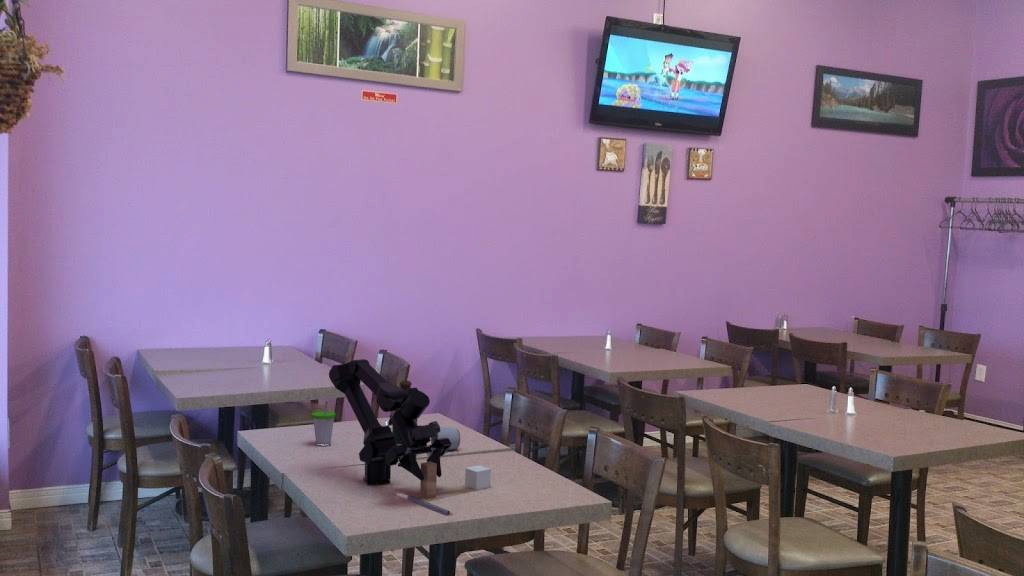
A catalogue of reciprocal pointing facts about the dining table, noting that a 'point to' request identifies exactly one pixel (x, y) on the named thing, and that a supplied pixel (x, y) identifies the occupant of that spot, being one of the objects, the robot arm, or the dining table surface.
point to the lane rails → (428, 505)
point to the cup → (323, 426)
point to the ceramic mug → (448, 436)
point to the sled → (429, 485)
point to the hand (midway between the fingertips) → (431, 478)
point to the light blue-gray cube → (477, 477)
